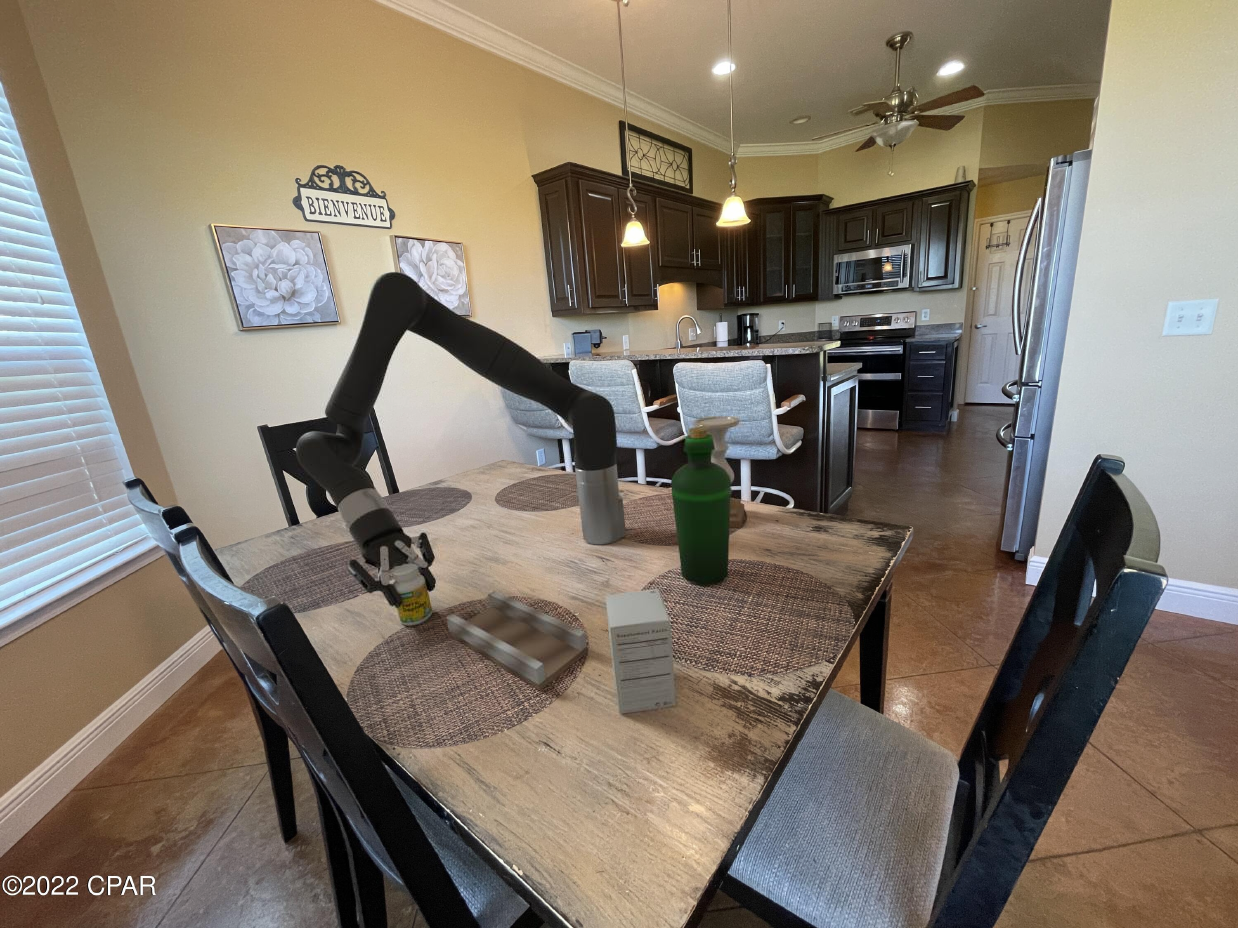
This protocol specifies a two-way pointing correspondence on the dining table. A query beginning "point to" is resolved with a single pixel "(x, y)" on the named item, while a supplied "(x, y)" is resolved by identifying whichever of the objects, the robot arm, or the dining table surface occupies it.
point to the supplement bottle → (412, 595)
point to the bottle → (702, 511)
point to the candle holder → (723, 458)
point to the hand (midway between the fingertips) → (416, 596)
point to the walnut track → (521, 640)
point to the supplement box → (641, 650)
